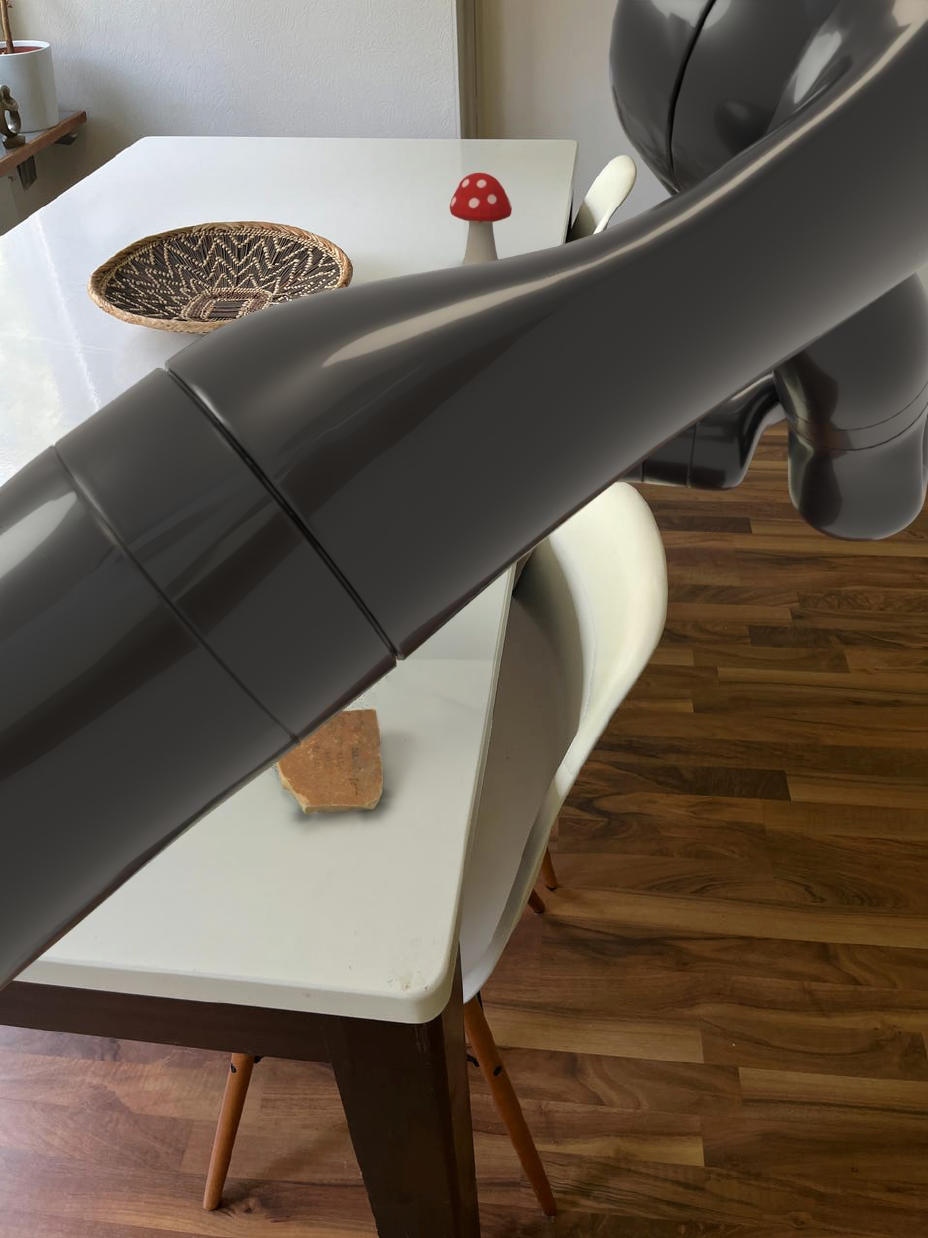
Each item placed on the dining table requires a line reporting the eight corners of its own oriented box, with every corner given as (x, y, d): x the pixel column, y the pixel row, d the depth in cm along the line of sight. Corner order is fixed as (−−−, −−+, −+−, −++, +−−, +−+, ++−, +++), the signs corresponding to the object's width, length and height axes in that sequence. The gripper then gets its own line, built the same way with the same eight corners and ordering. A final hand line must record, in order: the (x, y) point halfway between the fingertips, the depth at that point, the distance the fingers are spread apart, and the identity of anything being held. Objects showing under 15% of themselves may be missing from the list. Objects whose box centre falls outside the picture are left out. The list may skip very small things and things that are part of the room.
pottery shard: (252, 726, 75) (246, 701, 73) (373, 707, 76) (370, 682, 75) (256, 831, 67) (250, 806, 65) (392, 808, 68) (390, 782, 66)
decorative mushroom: (523, 274, 155) (524, 172, 146) (487, 289, 150) (486, 184, 141) (475, 261, 160) (474, 162, 151) (439, 275, 155) (435, 173, 146)
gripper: (599, 312, 63) (360, 293, 66) (554, 409, 52) (271, 380, 55) (592, 421, 67) (369, 397, 71) (550, 530, 56) (288, 496, 60)
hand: (326, 390), depth 63 cm, fingers open, 8 cm apart
